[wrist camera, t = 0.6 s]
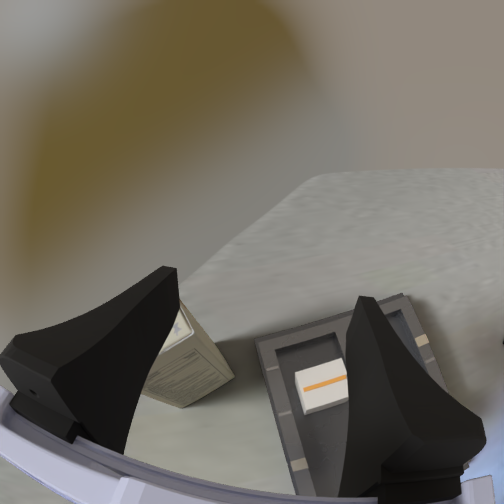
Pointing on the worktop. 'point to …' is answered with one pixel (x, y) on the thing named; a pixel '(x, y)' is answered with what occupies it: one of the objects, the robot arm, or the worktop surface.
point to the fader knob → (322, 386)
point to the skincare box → (186, 365)
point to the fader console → (334, 418)
